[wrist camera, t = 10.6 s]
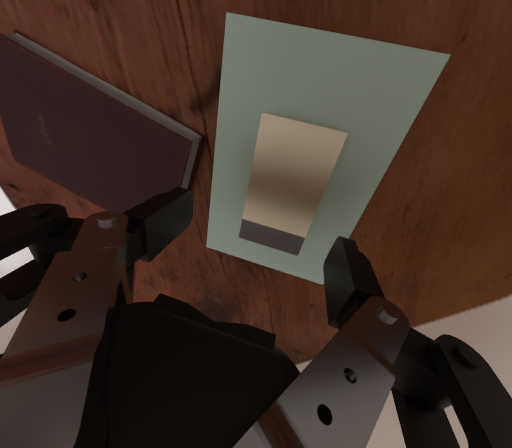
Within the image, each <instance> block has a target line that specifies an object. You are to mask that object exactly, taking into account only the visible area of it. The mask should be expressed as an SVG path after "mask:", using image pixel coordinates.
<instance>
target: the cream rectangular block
mask: <svg viewBox="0 0 512 448" xmlns="http://www.w3.org/2000/svg"><path fill="white" fill-rule="evenodd" d="M347 135H348V133H347V132H345V131H342V130H339V129H335V128H330V127H326V126H322V125H318V124H314V123H309V122H305V121H301V120H297V119H293V118H288V117H284V116H280V115H276V114H271V113H262V115H261V120H260V125H259V131H258V136H257V141H256V147H255V152H254V157H253V163H252V168H251V174H250V179H249V184H248V190H247V195H246V200H245V206H244V211H243V216H242V222H241V227H240V232H239V238H242V239H245V240H248V241H251V242H254V243H258V244H261V245H264V246H267V247H270V248H274V249H277V250H280V251H283V252H286V253H290V254H293V255H296V256H298V255H299V252H300V250H301V247H302V245H303V242H304V240H305V237H306V235H307V233H308V230H309V228H310V225H311V223H312V220H313V218H314V215H315V213H316V211H317V208H318V206H319V203H320V201H321V198H322V196H323V193H324V191H325V189H326V186H327V184H328V181H329V179H330V176H331V174H332V171H333V169H334V166H335V164H336V162H337V159H338V157H339V154H340V152H341V149H342V147H343V144H344V142H345V140H346V137H347Z"/></svg>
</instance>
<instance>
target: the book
mask: <svg viewBox="0 0 512 448" xmlns="http://www.w3.org/2000/svg"><path fill="white" fill-rule="evenodd" d="M13 31H14V34H2V33H0V116H1V120H2V124H3V127H4V131H5V134H6V138H7V141H8V144H9V147H10V150H11V153H12V156H13V158H14V160H15V161H16V162H17V163H19V164H21V165H22V166H24V167H26V168H28V169H30V170H32V171H34V172H36V173H38V174H39V175H41V176H43V177H45V178H47V179H49V180H51V181H53V182H54V183H56V184H58V185H60V186H62V187H64V188H66V189H68V190H69V191H71V192H73V193H75V194H76V195H78V196H80V197H82V198H84V199H86V200H88V201H90V202H92V203H93V204H95V205H97V206H99V207H101V208H103V209H105V210H107V211H117V212H121V213H123V212H125V211H127V210H129V209H131V208H133V207H135V206H137V205H138V204H140V203H144V201H146V200H148V199H150V198H152V197H153V196H155V195H157V194H161V193H166V192H169V191H171V190H173V189H174V188H176V187H182V188H185V189H188V190H191V187H192V184H193V179H194V175H195V172H196V169H197V166H198V162H199V158H200V154H201V150H202V146H203V142H204V136H203V135H202V134H200V133H198V132H197V131H195V130H193V129H192V128H190V127H188V126H186V125H184V124H182V123H181V122H179V121H177V120H175V119H174V118H172V117H170V116H168V115H166V114H164V113H163V112H161V111H159V110H157V109H155V108H153V107H151V106H150V105H148V104H146V103H144V102H142V101H140V100H138V99H136V98H134V97H132V96H130V95H128V94H126V93H125V92H123V91H121V90H119V89H117V88H115V87H114V86H112V85H110V84H108V83H106V82H104V81H103V80H101V79H99V78H97V77H95V76H94V75H92V74H90V73H88V72H86V71H84V70H82V69H80V68H79V67H77V66H75V65H73V64H71V63H70V62H68V61H66V60H65V59H63V58H61V57H60V56H58V55H56V54H55V53H53V52H52V51H50V50H48V49H47V48H45V47H44V46H42V45H40V44H38V43H37V42H35V41H33V40H31V39H30V38H28V37H26V36H25V35H23V34H21V33H19V32H17V31H15V30H13Z"/></svg>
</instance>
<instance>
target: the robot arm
mask: <svg viewBox="0 0 512 448" xmlns="http://www.w3.org/2000/svg"><path fill="white" fill-rule="evenodd" d="M193 197H194V195H193V191H192V190H188V189H185V188H182V187H176V188H174V189H173V190H171V191H169V192H166V193H161V194H157V195H155V196H153V197H152V198H150V199H148V200H146V201H144V203H140V204H138V205H137V206H135V207H133V208H131V209H129V210H127V211H125V212H123V213H121V212H117V211H104V212H98V213H95V214H92V215H90V216H88V217H87V218H86V219H80V218H70V217H68V214H67V211H66V209H65V207H63V206H61V205H58V204H36V205H31V206H27V207H23V208H21V209H18V210H15V211H12V212H9V213H7V214H4V215H1V216H0V260H2V259H4V258H6V257H8V256H10V255H12V254H14V253H16V252H18V251H20V250H22V249H24V248H26V247H29V249H30V251H31V253H32V255H33V257H34V260H32V261H30V262H28V263H26V264H25V265H23V266H21V267H19V268H18V269H16V270H14V271H12V272H11V273H9V274H7V275H5V276H4V277H2V278H0V327H2V326H3V325H4V324H6V323H7V322H8V321H10V320H11V319H13V318H14V317H15V316H17V315H18V314H19V313H20V312H22V311H23V310H25V309H26V308H27V307H28V308H27V310H26V312H25V314H24V316H23V318H22V319H21V321H20V323H19V325H18V327H17V329H16V331H15V333H14V335H13V337H12V339H11V341H10V342H9V344H8V346H7V348H6V350H5V352H4V353H3V354H0V448H366V445H367V443H368V441H369V439H370V436H371V434H372V432H373V429H374V427H375V425H376V422H377V420H378V418H379V416H380V413H381V411H382V409H383V407H384V404H385V402H386V399H387V397H388V395H389V392H390V391H392V394H393V398H394V402H395V406H396V410H397V414H398V418H399V421H400V425H401V429H402V433H403V437H404V441H405V445H406V448H460V446H459V444H458V442H457V439H456V437H455V435H454V432H453V430H452V427H451V425H450V423H449V420H448V418H447V415H446V413H445V411H444V408H446V407H448V406H450V405H452V406H453V408H454V411H455V412H456V415H457V417H458V419H459V422H460V424H461V426H462V428H463V430H464V433H465V435H466V437H467V440H468V445H469V448H512V398H511V396H510V395H509V393H508V392H507V391H506V389H505V388H504V386H503V385H502V383H501V382H500V380H499V379H498V377H497V376H496V374H495V373H494V371H493V370H492V369H491V367H490V366H489V364H488V363H487V362H486V361H485V360H484V358H483V357H481V355H480V354H479V353H477V352H476V351H475V350H474V349H473V348H472V347H470V346H469V345H468V344H466V343H465V342H463V341H462V340H460V339H458V338H456V337H454V336H451V335H446V334H444V335H441V336H439V337H438V338H437V339H435V340H432V339H430V338H429V337H426V336H425V335H423V334H422V333H420V332H418V331H416V330H415V329H413V328H411V327H410V323H409V320H408V318H407V317H406V315H405V314H404V313H403V312H402V311H401V309H399V308H398V307H397V306H396V305H395V304H393V303H392V302H390V301H389V300H387V299H385V297H384V294H383V292H382V289H381V287H380V285H379V282H378V280H377V278H376V277H375V276H376V275H375V273H374V271H373V270H372V269H373V268H372V266H371V263H370V261H369V260H368V259H367V258H366V256H365V255H364V254H363V253H361V252H359V250H358V247H357V245H356V242H355V241H354V240H351V239H348V238H345V237H342V236H338V237H337V238H336V240H335V242H334V244H333V246H332V247H331V249H330V251H329V253H328V255H327V257H326V259H325V261H324V265H323V274H324V284H325V294H326V303H327V313H328V323H329V326H332V327H334V328H337V329H339V331H338V332H337V333H336V334H335V335H334V336H333V338H332V339H331V340H330V341H329V342H328V343H327V344H326V345H325V347H324V348H323V349H322V350H321V351H320V352H319V353H318V354H317V355H316V357H315V358H314V359H313V360H312V361H311V362H310V363H309V364H308V366H307V367H306V368H305V369H304V370H303V371H302V372H301V373H300V372H299V370H298V369H297V367H296V366H295V365H294V363H293V362H292V361H291V360H290V359H289V357H288V356H287V355H286V354H285V353H284V352H282V351H281V350H280V349H279V348H278V347H276V346H275V338H276V335H275V334H272V333H270V332H267V331H264V330H261V329H259V328H256V327H253V326H250V325H247V324H239V323H228V322H217V321H213V320H211V319H209V318H208V317H207V316H205V315H204V314H202V313H201V312H199V311H198V310H197V309H195V308H194V307H192V306H191V305H190V304H188V303H186V302H183V301H180V300H178V299H175V298H172V297H169V296H166V295H164V294H161V293H160V294H159V295H158V297H157V298H156V299H155V300H154V302H137V303H133V294H134V281H135V262H136V261H137V260H139V259H140V260H143V261H146V262H150V261H151V260H152V259H153V258H155V257H156V256H157V255H158V254H159V253H160V252H161V251H162V250H163V249H164V248H165V247H166V246H167V245H168V244H170V243H171V242H172V241H173V240H174V239H175V238H176V237H177V236H178V235H179V234H180V233H181V232H182V231H183V230H184V229H186V228H187V227H188V226H189V224H190V223H191V220H192V216H193Z"/></svg>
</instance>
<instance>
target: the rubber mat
mask: <svg viewBox="0 0 512 448" xmlns="http://www.w3.org/2000/svg"><path fill="white" fill-rule="evenodd" d="M449 57H450V54H444V53H439V52H434V51H429V50H423V49H418V48H413V47H407V46H402V45H397V44H392V43H386V42H381V41H376V40H371V39H365V38H360V37H355V36H349V35H344V34H339V33H334V32H328V31H323V30H318V29H313V28H307V27H302V26H297V25H291V24H286V23H281V22H276V21H270V20H265V19H260V18H254V17H249V16H244V15H239V14H233V13H228V12H227V14H226V26H225V37H224V49H223V60H222V72H221V84H220V95H219V107H218V118H217V130H216V142H215V153H214V165H213V176H212V188H211V200H210V211H209V223H208V234H207V246H206V247H208V248H211V249H214V250H218V251H221V252H224V253H227V254H230V255H233V256H236V257H239V258H242V259H245V260H248V261H251V262H254V263H257V264H260V265H263V266H266V267H270V268H273V269H276V270H279V271H282V272H285V273H288V274H291V275H294V276H297V277H300V278H303V279H306V280H309V281H312V282H315V283H318V284H322V285H323V283H324V274H323V265H324V261H325V259H326V257H327V255H328V253H329V251H330V249H331V247H332V246H333V244H334V242H335V240H336V238H337V237H338V236H342V237H345V238H349V237H350V235H351V233H352V231H353V229H354V228H355V226H356V224H357V222H358V220H359V219H360V217H361V215H362V213H363V211H364V210H365V208H366V206H367V204H368V202H369V201H370V199H371V197H372V195H373V194H374V192H375V190H376V188H377V186H378V185H379V183H380V181H381V179H382V177H383V176H384V174H385V172H386V170H387V168H388V167H389V165H390V163H391V161H392V159H393V158H394V156H395V154H396V152H397V150H398V149H399V147H400V145H401V143H402V141H403V140H404V138H405V136H406V134H407V133H408V131H409V129H410V127H411V125H412V124H413V122H414V120H415V118H416V116H417V115H418V113H419V111H420V109H421V107H422V106H423V104H424V102H425V100H426V98H427V97H428V95H429V93H430V91H431V89H432V88H433V86H434V84H435V82H436V80H437V79H438V77H439V75H440V73H441V71H442V70H443V68H444V66H445V64H446V63H447V61H448V59H449ZM262 113H271V114H276V115H280V116H284V117H288V118H293V119H297V120H301V121H305V122H309V123H314V124H318V125H322V126H326V127H330V128H335V129H339V130H342V131H345V132H347V133H348V135H347V137H346V140H345V142H344V144H343V147H342V149H341V152H340V154H339V157H338V159H337V162H336V164H335V166H334V169H333V171H332V174H331V176H330V179H329V181H328V184H327V186H326V189H325V191H324V193H323V196H322V198H321V201H320V203H319V206H318V208H317V211H316V213H315V215H314V218H313V220H312V223H311V225H310V228H309V230H308V233H307V235H306V237H305V240H304V242H303V245H302V247H301V250H300V252H299V255H298V256H296V255H293V254H290V253H286V252H283V251H280V250H277V249H274V248H270V247H267V246H264V245H261V244H258V243H254V242H251V241H248V240H245V239H242V238H239V232H240V227H241V222H242V216H243V211H244V206H245V200H246V195H247V190H248V184H249V179H250V174H251V168H252V163H253V157H254V152H255V147H256V141H257V136H258V131H259V125H260V120H261V115H262Z"/></svg>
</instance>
